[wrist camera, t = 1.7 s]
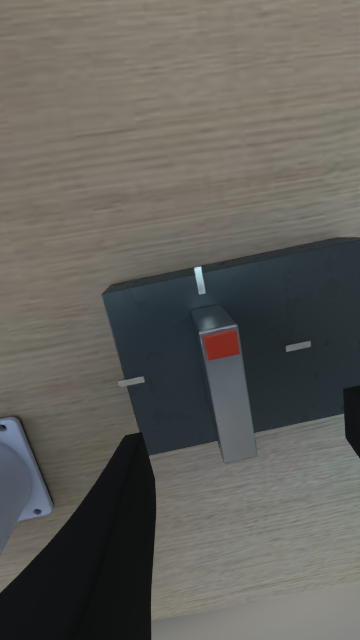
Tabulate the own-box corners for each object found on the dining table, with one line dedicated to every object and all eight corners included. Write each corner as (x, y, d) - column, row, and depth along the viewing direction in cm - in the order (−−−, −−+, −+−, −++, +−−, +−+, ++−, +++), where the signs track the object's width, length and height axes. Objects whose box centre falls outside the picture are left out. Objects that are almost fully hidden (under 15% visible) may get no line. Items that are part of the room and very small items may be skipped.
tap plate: (144, 431, 21) (141, 464, 18) (103, 280, 18) (91, 289, 15) (345, 388, 21) (377, 413, 18) (337, 231, 18) (373, 229, 15)
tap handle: (237, 411, 17) (260, 461, 14) (210, 416, 17) (225, 468, 13) (219, 303, 16) (239, 325, 12) (189, 309, 16) (199, 333, 12)
